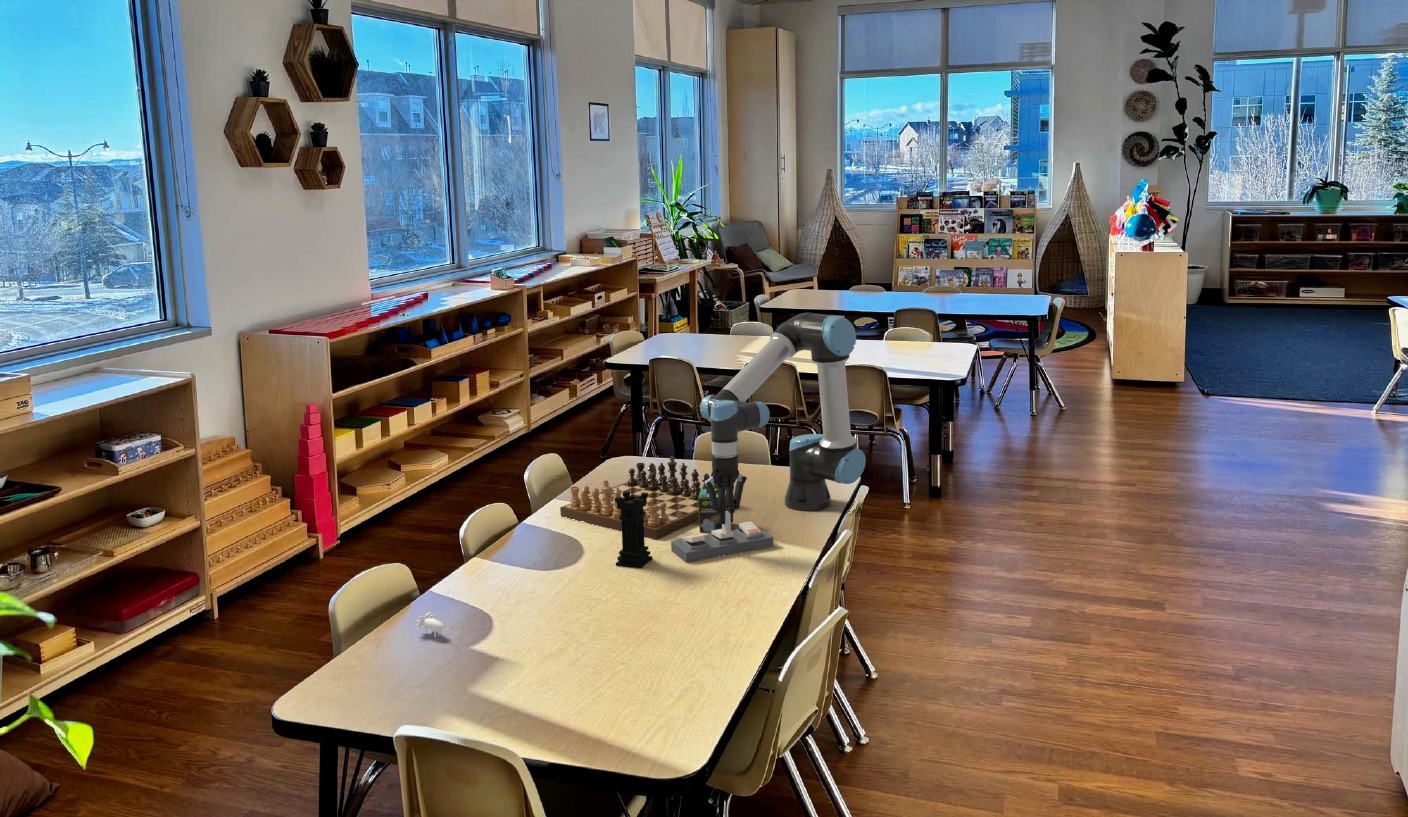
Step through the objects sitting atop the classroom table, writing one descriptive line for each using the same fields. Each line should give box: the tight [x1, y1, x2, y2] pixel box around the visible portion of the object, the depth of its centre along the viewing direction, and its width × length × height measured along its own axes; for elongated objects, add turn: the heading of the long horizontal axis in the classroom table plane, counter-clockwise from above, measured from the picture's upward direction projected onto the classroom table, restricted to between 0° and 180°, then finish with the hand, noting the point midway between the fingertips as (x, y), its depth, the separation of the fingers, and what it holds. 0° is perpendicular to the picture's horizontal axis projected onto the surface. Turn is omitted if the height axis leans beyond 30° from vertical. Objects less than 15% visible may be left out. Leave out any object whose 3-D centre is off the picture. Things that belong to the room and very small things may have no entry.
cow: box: [415, 610, 452, 638], centre depth 272 cm, size 12×5×5 cm, turn 52°
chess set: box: [559, 455, 717, 541], centre depth 362 cm, size 40×40×15 cm
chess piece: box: [615, 491, 653, 570], centre depth 316 cm, size 8×8×20 cm
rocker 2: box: [738, 520, 761, 536], centre depth 330 cm, size 4×6×1 cm, turn 24°
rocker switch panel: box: [670, 525, 774, 564], centre depth 327 cm, size 28×11×4 cm, turn 114°
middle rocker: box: [710, 529, 733, 539], centre depth 326 cm, size 4×6×1 cm, turn 24°
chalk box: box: [698, 483, 727, 533], centre depth 344 cm, size 9×9×15 cm
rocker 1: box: [682, 534, 705, 542], centre depth 323 cm, size 4×6×1 cm, turn 24°
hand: (726, 533), depth 323 cm, fingers closed
